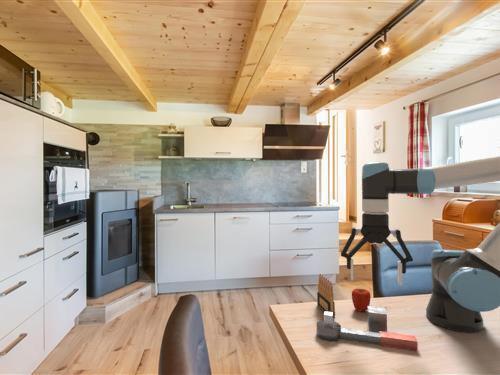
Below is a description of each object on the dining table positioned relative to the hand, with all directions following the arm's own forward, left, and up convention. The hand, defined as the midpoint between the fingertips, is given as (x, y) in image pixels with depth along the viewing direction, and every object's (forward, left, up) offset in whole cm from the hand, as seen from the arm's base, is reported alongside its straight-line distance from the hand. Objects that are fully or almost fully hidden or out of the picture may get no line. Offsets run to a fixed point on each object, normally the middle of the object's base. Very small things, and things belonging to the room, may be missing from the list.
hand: (375, 281), depth 88 cm
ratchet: (+4, +8, -15) cm, 17 cm away
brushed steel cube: (0, 0, -15) cm, 15 cm away
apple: (+4, -13, -15) cm, 20 cm away
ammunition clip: (+16, -9, -15) cm, 23 cm away
